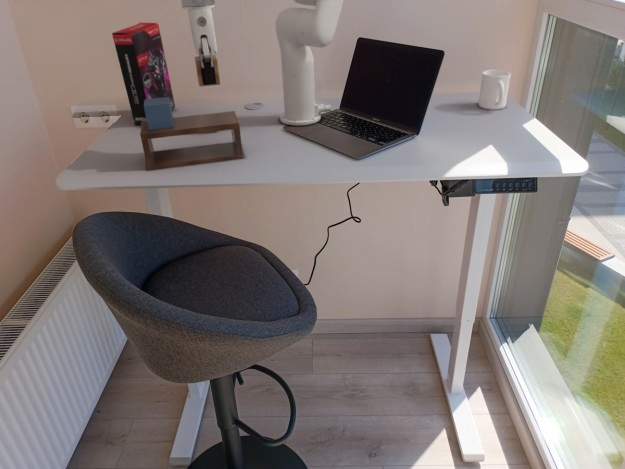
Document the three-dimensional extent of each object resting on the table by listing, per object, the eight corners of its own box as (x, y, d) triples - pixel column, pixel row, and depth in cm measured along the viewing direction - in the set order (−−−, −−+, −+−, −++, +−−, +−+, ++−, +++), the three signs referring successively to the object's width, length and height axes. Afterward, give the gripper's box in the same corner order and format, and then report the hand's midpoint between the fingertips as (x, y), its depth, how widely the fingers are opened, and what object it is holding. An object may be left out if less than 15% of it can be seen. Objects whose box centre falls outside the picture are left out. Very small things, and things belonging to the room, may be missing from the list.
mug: (512, 113, 154) (518, 79, 149) (485, 114, 155) (490, 80, 149) (500, 101, 164) (506, 69, 159) (475, 102, 165) (479, 70, 159)
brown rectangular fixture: (238, 144, 140) (234, 110, 135) (243, 158, 132) (239, 122, 127) (149, 155, 135) (141, 121, 130) (148, 170, 127) (140, 134, 122)
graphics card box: (152, 126, 155) (133, 32, 141) (132, 125, 157) (110, 32, 142) (176, 109, 170) (160, 21, 155) (157, 108, 171) (139, 22, 157)
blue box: (173, 120, 130) (169, 96, 127) (173, 127, 125) (169, 103, 122) (149, 122, 129) (144, 99, 126) (148, 130, 124) (143, 106, 121)
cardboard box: (218, 79, 127) (215, 54, 124) (220, 84, 123) (217, 59, 120) (198, 81, 126) (194, 56, 123) (199, 86, 122) (195, 60, 119)
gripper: (217, 3, 109) (227, 88, 118) (211, -5, 123) (220, 72, 133) (182, 6, 107) (195, 91, 117) (180, -3, 122) (191, 74, 131)
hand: (208, 80), depth 125 cm, fingers closed on cardboard box, 5 cm apart
